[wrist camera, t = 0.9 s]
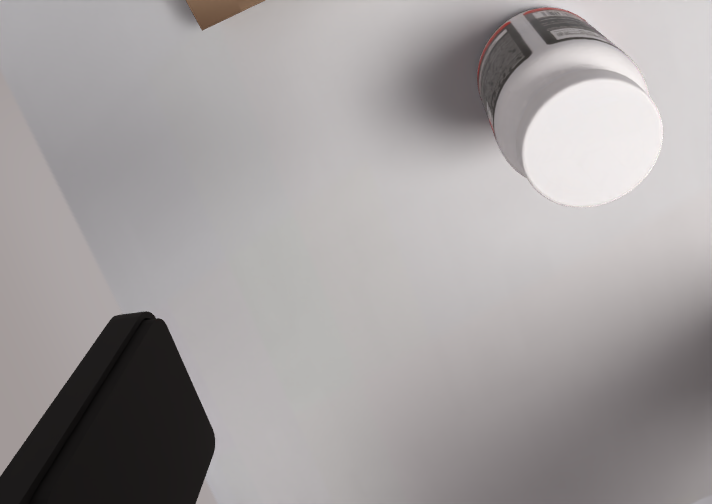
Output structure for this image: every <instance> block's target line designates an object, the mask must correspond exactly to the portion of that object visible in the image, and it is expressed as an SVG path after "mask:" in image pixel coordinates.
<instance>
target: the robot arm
mask: <svg viewBox="0 0 712 504" xmlns="http://www.w3.org/2000/svg"><path fill="white" fill-rule="evenodd" d="M214 450H215V436H214V432H213V429H212V427H211V424H210V422H209V420H208V418H207V415H206V413H205V411H204V409H203V406H202V404H201V402H200V400H199V397H198V395H197V393H196V391H195V388H194V386H193V384H192V381H191V379H190V377H189V375H188V372H187V370H186V368H185V366H184V363H183V361H182V359H181V357H180V354H179V352H178V350H177V348H176V345H175V343H174V341H173V339H172V336H171V334H170V332H169V330H168V327H167V325H166V324H165V322H164V321H163V320H162V319H159V318H158V319H156V318H155V316H154V315H153V314H152V313H150V312H147V311H146V312H138V313H131V314H123V315H117V316H114V317H113V318H112V319H111V320H110V321H109V323H108V324H107V325H106V327H105V328H104V330H103V331H102V333H101V334H100V335H99V337H98V338H97V340H96V341H95V343H94V344H93V345H92V347H91V348H90V350H89V351H88V353H87V354H86V356H85V357H84V358H83V360H82V361H81V362H80V364H79V365H78V367H77V368H76V370H75V371H74V373H73V374H72V375H71V377H70V378H69V380H68V381H67V383H66V384H65V385H64V387H63V388H62V390H61V391H60V392H59V394H58V396H57V397H56V398H55V399H54V401H53V402H52V404H51V405H50V407H49V408H48V409H47V411H46V412H45V414H44V415H43V417H42V418H41V419H40V421H39V422H38V424H37V425H36V427H35V428H34V429H33V431H32V432H31V434H30V435H29V436H28V438H27V439H26V441H25V442H24V444H23V445H22V447H21V448H20V449H19V451H18V452H17V454H16V455H15V456H14V458H13V459H12V461H11V462H10V464H9V465H8V466H7V468H6V469H5V471H4V472H3V474H2V475H1V476H0V504H196V501H197V498H198V495H199V492H200V490H201V487H202V484H203V481H204V479H205V476H206V473H207V470H208V467H209V465H210V462H211V459H212V456H213V453H214Z"/></svg>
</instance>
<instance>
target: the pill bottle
mask: <svg viewBox="0 0 712 504" xmlns="http://www.w3.org/2000/svg"><path fill="white" fill-rule="evenodd" d="M477 82H478V89H479V93H480V97H481V100H482V102H483V105H484V108H485V110H486V113H487V116H488V119H489V121H490V124H491V127H492V130H493V133H494V136H495V139H496V141H497V144H498V146H499V148H500V150H501V152H502V154H503V156H504V157H505V159H506V160H507V162H508V163H509V164H510V165H511V166H512V167H513V168H514V169H515V170H516V171H517V172H518V173H520V174H521V175H522V176H524V177H526V178H527V179H528V180H529V182H530V183H531V185H532V186H533V187H534V188H535V189H536V190H537V191H538V192H539V193H540V194H541V195H543V196H544V197H546V198H547V199H549V200H551V201H553V202H555V203H558V204H561V205H565V206H570V207H592V206H598V205H602V204H605V203H608V202H611V201H614V200H616V199H618V198H620V197H622V196H623V195H625V194H627V193H628V192H630V191H631V190H633V189H634V188H635V187H636V186H637V185H638V184H639V183H641V181H642V180H643V179H644V178H645V177H646V176H647V175H648V174H649V172H650V171H651V169H652V168H653V166H654V164H655V163H656V160H657V158H658V156H659V153H660V150H661V146H662V140H663V126H662V120H661V116H660V113H659V111H658V109H657V107H656V105H655V103H654V102H653V100H652V99H651V98H650V97H649V91H648V88H647V84H646V81H645V79H644V77H643V75H642V73H641V71H640V70H639V68H638V67H637V66H636V64H635V63H634V62H633V61H632V60H631V59H630V58H629V57H628V56H627V55H626V54H625V53H624V52H623V51H622V50H620V49H619V48H618V47H617V46H615V45H614V44H613V43H612V42H611V41H609V40H608V39H607V38H606V37H604V36H603V35H602V34H601V33H599V32H598V31H597V30H596V29H595V28H593V27H592V26H591V25H590V24H588V23H587V22H586V21H585V20H584V19H582V18H581V17H579V16H577V15H576V14H574V13H571V12H569V11H566V10H563V9H559V8H548V7H546V8H536V9H532V10H528V11H525V12H523V13H520V14H518V15H516V16H514V17H512V18H511V19H509V20H508V21H506V22H505V23H504V24H503V25H502V26H500V27H499V28H498V29H497V30H496V31H495V33H494V34H493V35H492V36H491V38H490V39H489V40H488V42H487V44H486V46H485V47H484V50H483V52H482V54H481V57H480V61H479V65H478V72H477Z"/></svg>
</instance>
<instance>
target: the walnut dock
mask: <svg viewBox="0 0 712 504" xmlns="http://www.w3.org/2000/svg"><path fill="white" fill-rule="evenodd" d="M263 1H265V0H186V2H187V4H188V5H189V7H190V9H191V11H192V13H193V15H194V16H195V18H196V20H197V22H198V24H199V26H200V28H201V29H202V30H204V29H207V28H209V27H211V26H213V25H215V24H217V23H219V22H221V21H223V20H225V19H227V18H229V17H232V16H234V15H236V14H238V13H240V12H242V11H244V10H246V9H248V8H250V7H252V6H254V5H257V4H259V3H261V2H263Z"/></svg>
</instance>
